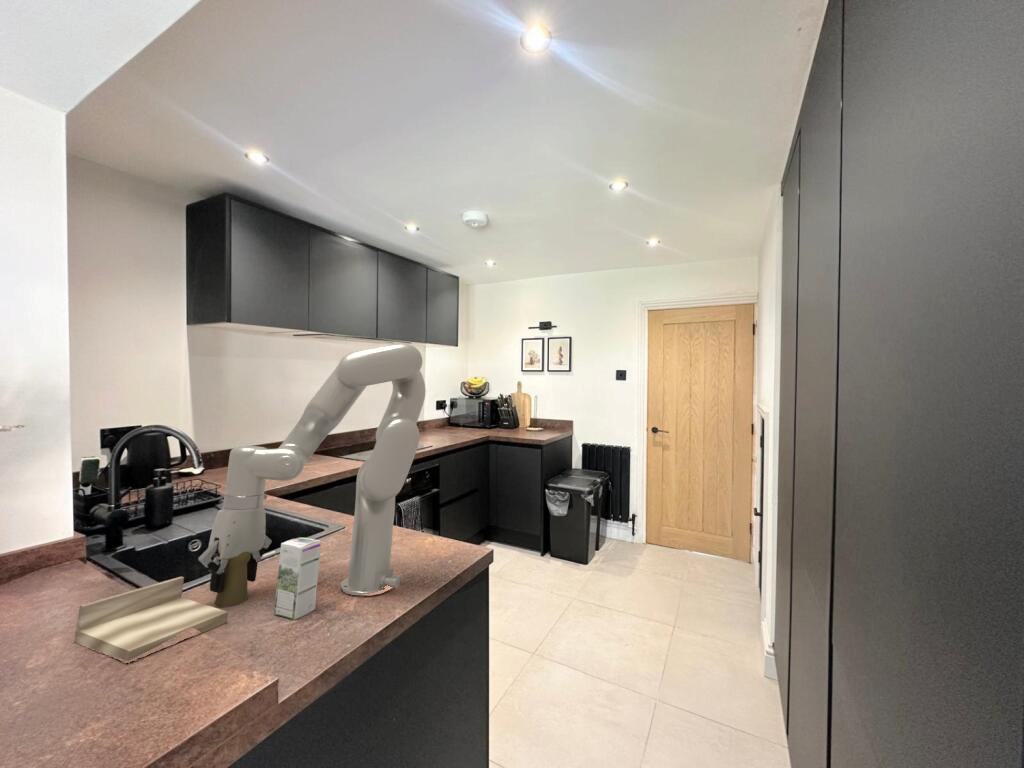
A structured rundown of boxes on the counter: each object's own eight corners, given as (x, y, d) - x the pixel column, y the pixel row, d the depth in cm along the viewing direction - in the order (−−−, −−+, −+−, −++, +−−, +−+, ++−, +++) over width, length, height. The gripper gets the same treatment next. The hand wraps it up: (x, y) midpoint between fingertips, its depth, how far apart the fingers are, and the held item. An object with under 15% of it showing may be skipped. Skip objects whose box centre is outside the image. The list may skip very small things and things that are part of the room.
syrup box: (316, 609, 88) (323, 539, 90) (293, 621, 83) (301, 546, 84) (295, 604, 90) (302, 535, 91) (271, 615, 84) (280, 542, 86)
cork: (231, 608, 86) (237, 553, 88) (207, 604, 88) (214, 550, 89) (254, 597, 92) (260, 546, 94) (231, 593, 94) (238, 543, 95)
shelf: (226, 622, 81) (230, 590, 81) (127, 664, 66) (133, 624, 66) (176, 606, 86) (180, 576, 86) (74, 642, 71) (79, 605, 72)
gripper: (266, 495, 102) (257, 570, 100) (191, 506, 85) (178, 596, 84) (289, 498, 99) (280, 576, 97) (215, 510, 83) (203, 604, 81)
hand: (233, 585), depth 90 cm, fingers open, 6 cm apart
